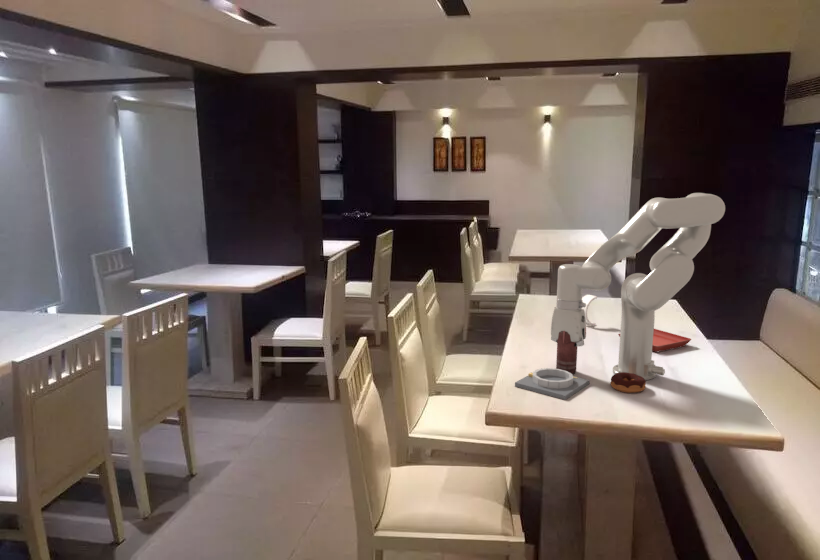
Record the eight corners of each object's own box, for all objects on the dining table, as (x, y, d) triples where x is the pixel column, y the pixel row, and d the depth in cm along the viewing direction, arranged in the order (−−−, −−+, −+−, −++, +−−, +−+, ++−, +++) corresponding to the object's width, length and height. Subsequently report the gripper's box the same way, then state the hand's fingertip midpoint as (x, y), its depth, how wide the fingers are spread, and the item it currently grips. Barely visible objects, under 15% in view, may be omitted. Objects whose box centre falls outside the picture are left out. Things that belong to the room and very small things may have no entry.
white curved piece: (595, 325, 240) (597, 296, 238) (584, 327, 237) (586, 298, 235) (587, 322, 244) (588, 294, 241) (576, 324, 241) (577, 296, 239)
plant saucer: (616, 342, 218) (617, 333, 218) (650, 335, 226) (651, 327, 226) (656, 355, 203) (657, 346, 202) (691, 348, 211) (692, 339, 210)
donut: (617, 380, 179) (618, 367, 178) (650, 387, 173) (651, 374, 172) (604, 389, 172) (605, 376, 171) (638, 397, 165) (639, 384, 165)
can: (553, 373, 184) (555, 330, 182) (558, 367, 190) (560, 325, 187) (573, 376, 182) (575, 332, 179) (577, 370, 187) (579, 327, 184)
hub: (589, 383, 176) (589, 373, 175) (565, 399, 164) (565, 388, 163) (541, 372, 186) (541, 362, 185) (514, 386, 174) (515, 376, 173)
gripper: (597, 305, 180) (594, 363, 183) (552, 298, 189) (550, 353, 193) (586, 310, 174) (583, 369, 177) (541, 303, 184) (539, 359, 187)
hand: (566, 361), depth 185 cm, fingers closed
